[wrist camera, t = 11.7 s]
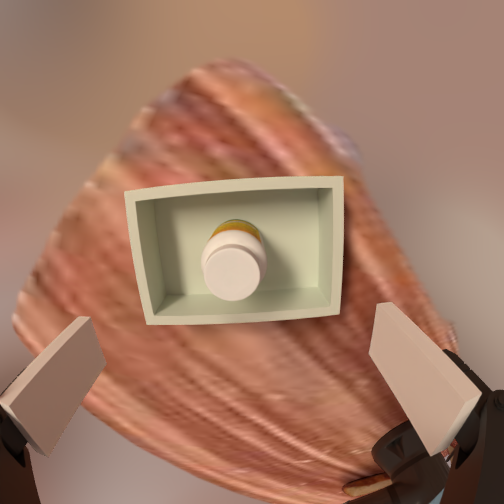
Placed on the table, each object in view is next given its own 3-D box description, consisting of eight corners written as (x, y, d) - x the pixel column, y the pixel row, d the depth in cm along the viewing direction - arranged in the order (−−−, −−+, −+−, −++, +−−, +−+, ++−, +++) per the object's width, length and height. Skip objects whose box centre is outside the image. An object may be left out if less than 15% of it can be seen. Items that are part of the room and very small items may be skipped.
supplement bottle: (270, 255, 29) (282, 293, 19) (224, 275, 29) (216, 321, 20) (249, 208, 27) (251, 225, 18) (202, 231, 28) (180, 258, 18)
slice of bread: (409, 469, 49) (413, 477, 45) (357, 495, 51) (360, 504, 48) (398, 456, 45) (403, 466, 41) (336, 486, 47) (339, 496, 44)
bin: (323, 290, 31) (339, 314, 25) (162, 299, 31) (146, 324, 25) (323, 176, 27) (343, 176, 22) (147, 188, 27) (124, 191, 21)
